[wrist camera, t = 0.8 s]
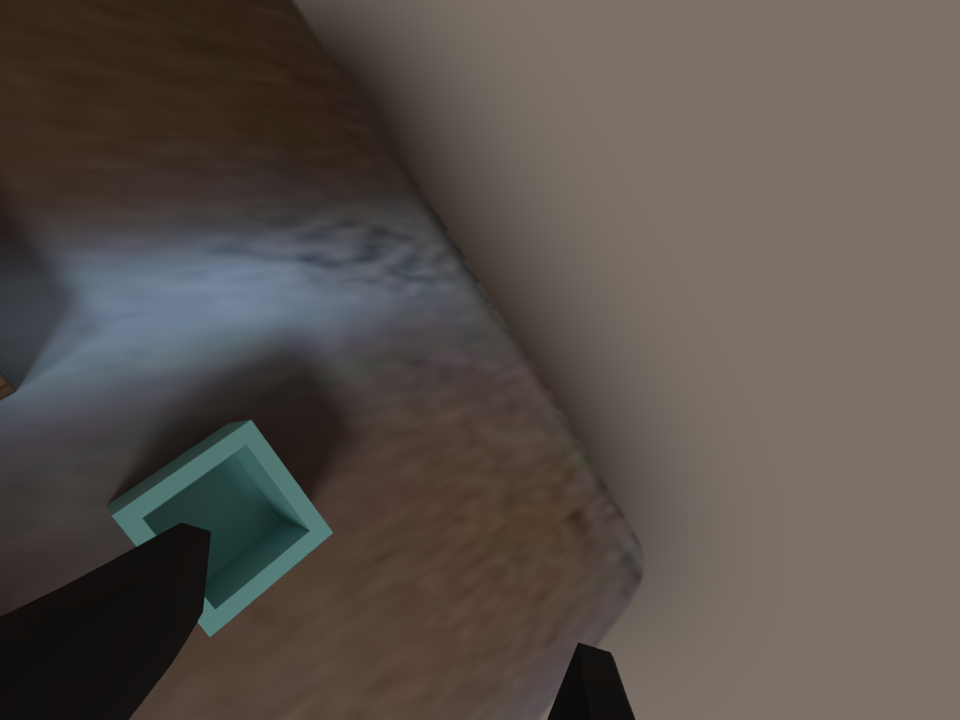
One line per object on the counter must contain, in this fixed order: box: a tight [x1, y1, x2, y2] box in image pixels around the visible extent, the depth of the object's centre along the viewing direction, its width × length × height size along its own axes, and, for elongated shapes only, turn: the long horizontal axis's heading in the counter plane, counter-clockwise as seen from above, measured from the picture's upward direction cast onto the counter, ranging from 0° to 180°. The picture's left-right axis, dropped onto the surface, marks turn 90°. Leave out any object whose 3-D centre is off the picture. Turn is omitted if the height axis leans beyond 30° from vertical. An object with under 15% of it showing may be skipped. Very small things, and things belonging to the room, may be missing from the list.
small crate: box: [107, 420, 333, 637], centre depth 24 cm, size 5×5×4 cm
